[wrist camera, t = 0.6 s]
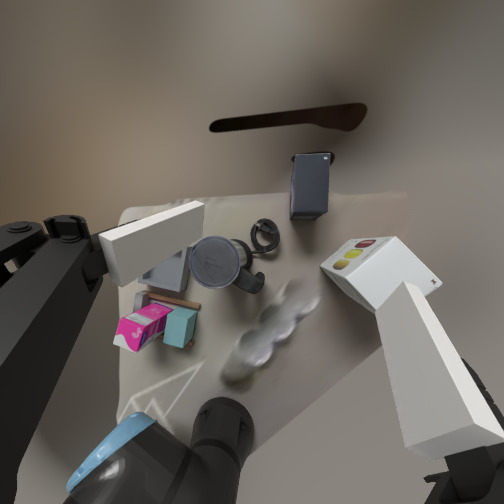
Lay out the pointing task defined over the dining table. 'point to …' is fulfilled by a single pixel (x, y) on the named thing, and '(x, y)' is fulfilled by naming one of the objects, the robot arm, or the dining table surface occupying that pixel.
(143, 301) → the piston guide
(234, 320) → the dining table surface
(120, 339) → the supplement box
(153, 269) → the tray
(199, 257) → the milk frother
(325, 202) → the small box
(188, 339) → the block
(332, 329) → the dining table surface
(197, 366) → the dining table surface
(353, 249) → the supplement box
